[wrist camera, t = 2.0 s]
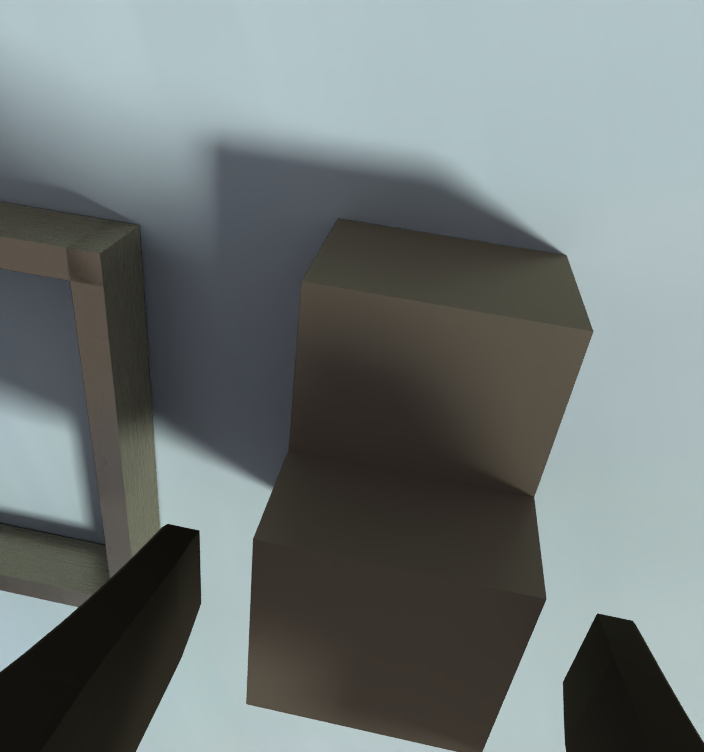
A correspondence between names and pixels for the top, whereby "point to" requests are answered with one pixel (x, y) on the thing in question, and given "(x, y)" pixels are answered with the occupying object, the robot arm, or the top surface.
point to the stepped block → (412, 483)
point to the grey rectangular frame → (91, 397)
